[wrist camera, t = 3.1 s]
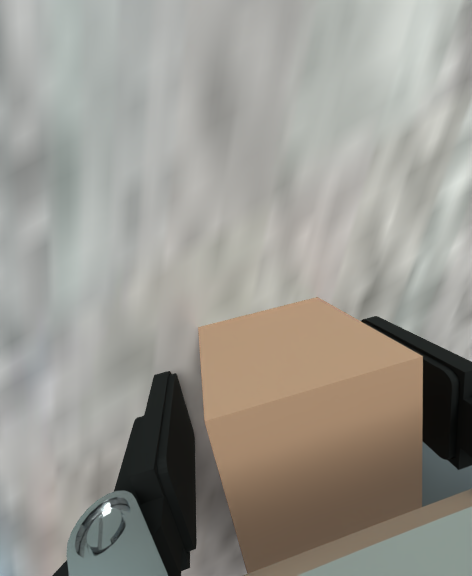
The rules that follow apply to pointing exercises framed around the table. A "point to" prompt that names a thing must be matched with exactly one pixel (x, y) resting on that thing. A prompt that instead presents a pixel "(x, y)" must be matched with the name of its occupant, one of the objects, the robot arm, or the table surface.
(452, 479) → the pedestal
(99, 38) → the table surface
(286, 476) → the cube
